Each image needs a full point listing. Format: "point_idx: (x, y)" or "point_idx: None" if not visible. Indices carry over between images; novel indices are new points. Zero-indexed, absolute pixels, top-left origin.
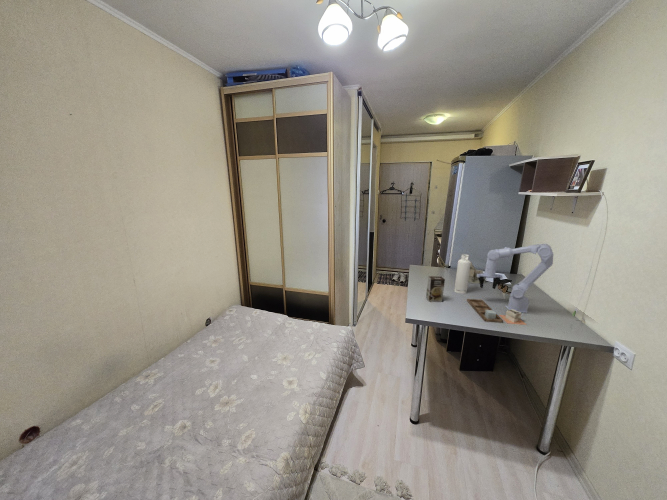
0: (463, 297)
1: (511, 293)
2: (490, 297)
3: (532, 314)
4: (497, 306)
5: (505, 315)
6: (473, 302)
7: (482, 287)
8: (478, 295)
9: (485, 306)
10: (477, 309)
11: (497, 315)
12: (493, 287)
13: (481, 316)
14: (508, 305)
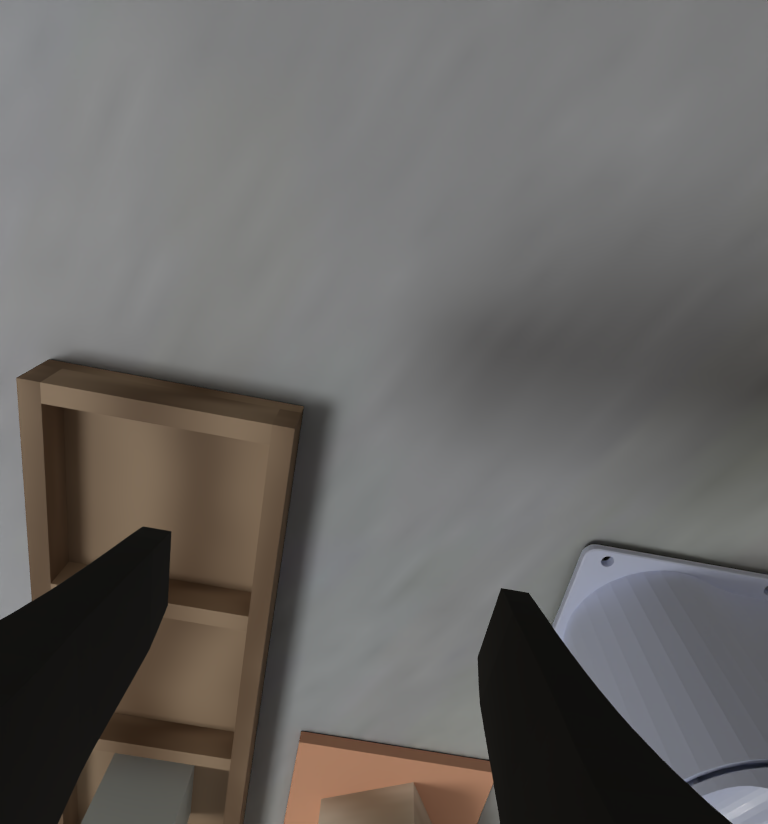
0: (52, 169)
1: (749, 788)
2: (639, 189)
3: None
4: (472, 537)
5: (372, 756)
6: (134, 435)
7: (150, 631)
8: (444, 62)
9: (220, 622)
10: None
11: (231, 813)
12: (489, 657)
13: None
14: (582, 643)
